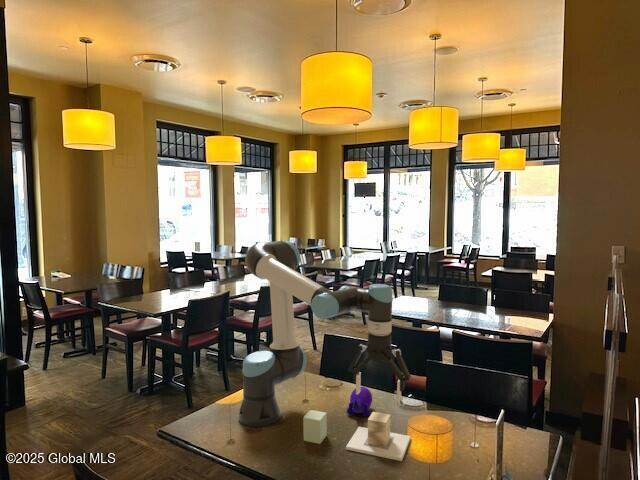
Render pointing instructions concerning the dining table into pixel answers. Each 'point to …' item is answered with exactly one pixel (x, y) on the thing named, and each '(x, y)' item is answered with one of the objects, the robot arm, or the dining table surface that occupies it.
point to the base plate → (391, 451)
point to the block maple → (379, 429)
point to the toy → (360, 402)
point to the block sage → (315, 426)
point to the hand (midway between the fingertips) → (378, 396)
